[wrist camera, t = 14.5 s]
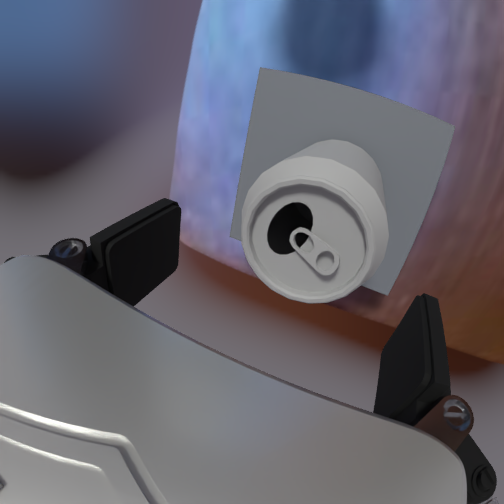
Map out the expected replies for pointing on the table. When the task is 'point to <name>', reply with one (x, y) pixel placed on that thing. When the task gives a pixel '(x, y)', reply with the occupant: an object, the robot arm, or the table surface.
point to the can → (316, 222)
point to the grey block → (358, 133)
